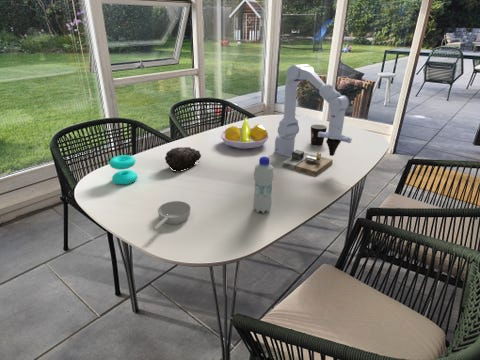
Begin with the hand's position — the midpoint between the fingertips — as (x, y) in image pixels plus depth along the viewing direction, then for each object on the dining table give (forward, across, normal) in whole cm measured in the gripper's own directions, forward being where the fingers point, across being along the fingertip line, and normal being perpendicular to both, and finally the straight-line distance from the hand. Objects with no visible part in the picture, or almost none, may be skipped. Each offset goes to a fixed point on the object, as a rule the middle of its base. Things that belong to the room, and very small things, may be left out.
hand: (331, 155), depth 143 cm
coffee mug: (+8, -22, +32) cm, 39 cm away
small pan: (+8, -24, -74) cm, 78 cm away
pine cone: (+8, -55, -38) cm, 67 cm away
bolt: (+5, -9, 0) cm, 10 cm away
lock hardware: (+6, -13, 0) cm, 14 cm away
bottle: (+8, -5, -48) cm, 49 cm away
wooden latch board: (+8, -11, 0) cm, 13 cm away
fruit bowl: (+8, -52, +5) cm, 52 cm away
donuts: (+8, -63, -64) cm, 90 cm away
